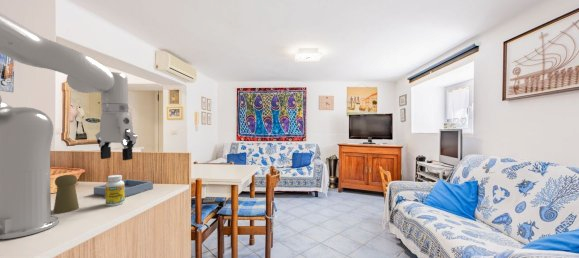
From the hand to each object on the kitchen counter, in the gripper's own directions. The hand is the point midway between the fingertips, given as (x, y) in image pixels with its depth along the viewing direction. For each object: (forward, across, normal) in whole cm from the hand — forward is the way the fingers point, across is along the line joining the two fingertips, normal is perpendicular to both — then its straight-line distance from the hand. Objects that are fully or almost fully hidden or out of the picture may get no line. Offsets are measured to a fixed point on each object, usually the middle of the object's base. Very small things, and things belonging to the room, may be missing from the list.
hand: (116, 159), depth 84 cm
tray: (+16, +10, -11) cm, 22 cm away
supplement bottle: (+16, 0, +1) cm, 16 cm away
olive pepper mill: (+15, +9, +10) cm, 20 cm away
